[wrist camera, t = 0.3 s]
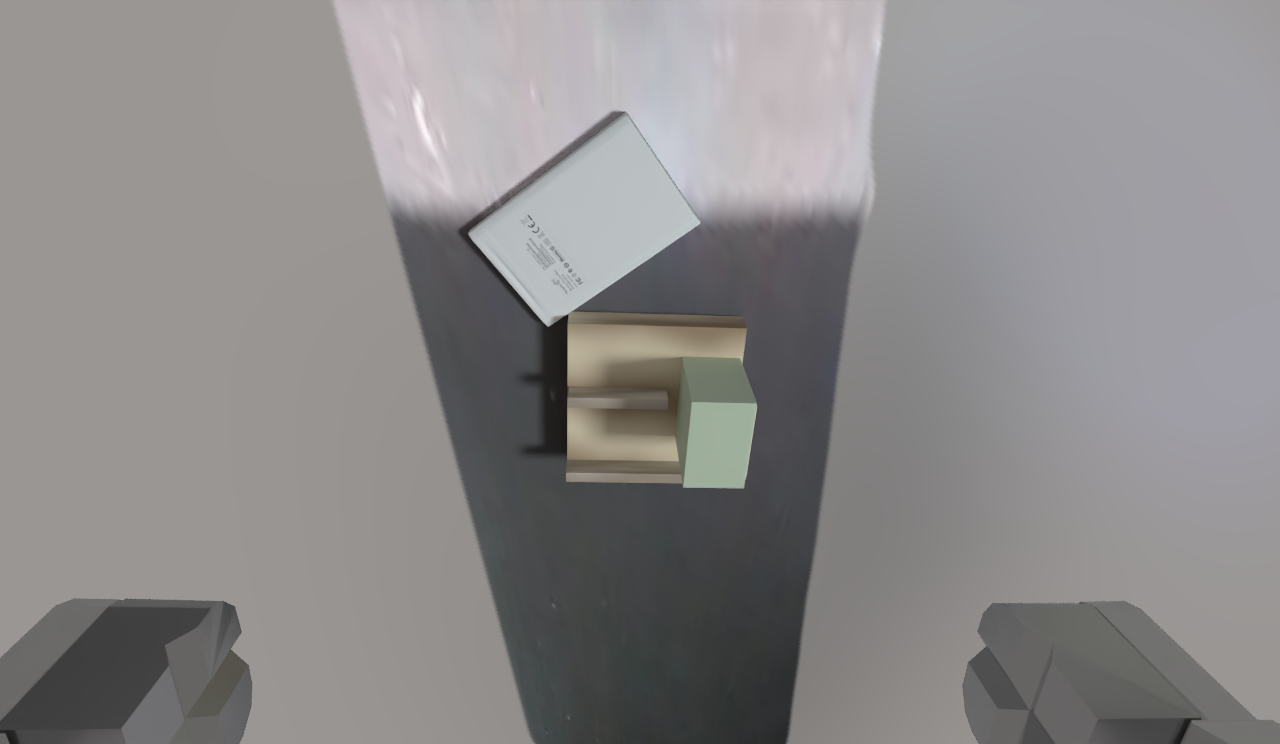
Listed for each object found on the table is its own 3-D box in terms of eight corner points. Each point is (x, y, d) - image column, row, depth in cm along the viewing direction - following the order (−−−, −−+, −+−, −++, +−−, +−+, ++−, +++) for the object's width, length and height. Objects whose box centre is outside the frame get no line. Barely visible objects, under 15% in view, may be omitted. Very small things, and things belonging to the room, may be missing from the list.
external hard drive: (698, 217, 46) (549, 319, 49) (625, 109, 42) (470, 227, 45) (701, 224, 44) (548, 329, 47) (626, 113, 41) (466, 234, 44)
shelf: (568, 311, 48) (566, 333, 45) (741, 316, 49) (751, 338, 45) (568, 453, 53) (566, 482, 50) (723, 456, 54) (730, 485, 51)
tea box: (674, 435, 51) (683, 487, 45) (682, 356, 48) (691, 402, 42) (731, 436, 51) (746, 488, 46) (742, 358, 48) (759, 403, 43)
